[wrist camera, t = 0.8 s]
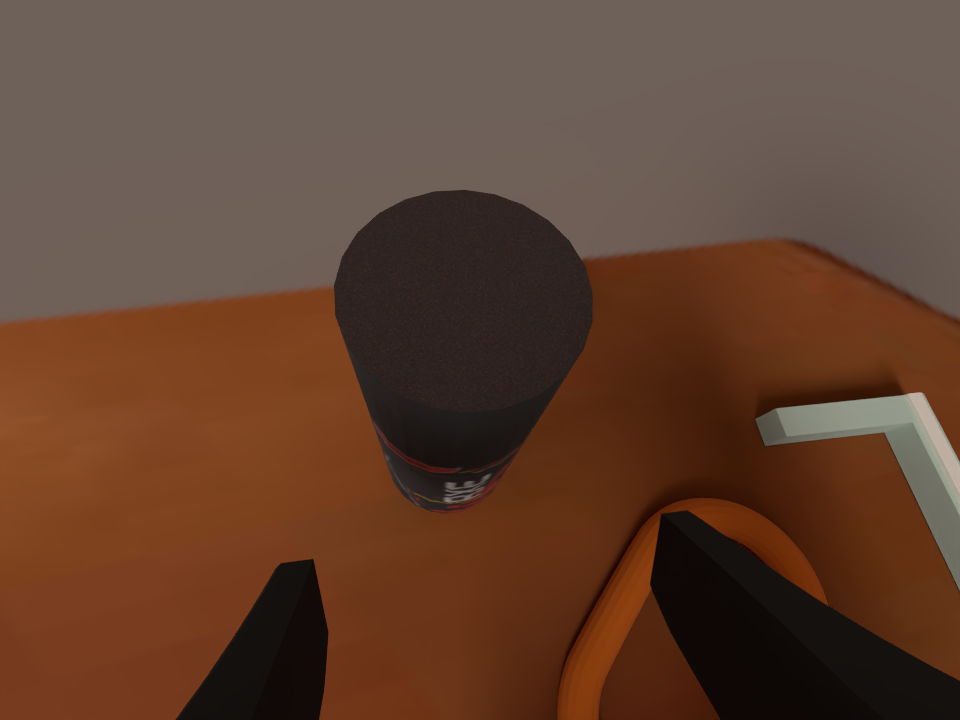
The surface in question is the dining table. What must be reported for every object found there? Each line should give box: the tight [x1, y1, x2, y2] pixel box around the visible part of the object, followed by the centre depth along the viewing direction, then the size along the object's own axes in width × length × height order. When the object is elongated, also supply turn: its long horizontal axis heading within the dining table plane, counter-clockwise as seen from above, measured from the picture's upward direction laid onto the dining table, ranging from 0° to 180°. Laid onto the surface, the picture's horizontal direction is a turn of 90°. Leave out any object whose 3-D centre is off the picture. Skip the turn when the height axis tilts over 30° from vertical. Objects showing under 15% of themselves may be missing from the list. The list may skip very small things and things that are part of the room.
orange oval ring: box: [557, 498, 828, 720], centre depth 22 cm, size 10×2×15 cm
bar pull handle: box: [755, 392, 960, 590], centre depth 23 cm, size 21×9×2 cm, turn 7°
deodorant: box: [334, 190, 592, 513], centre depth 18 cm, size 6×6×15 cm
